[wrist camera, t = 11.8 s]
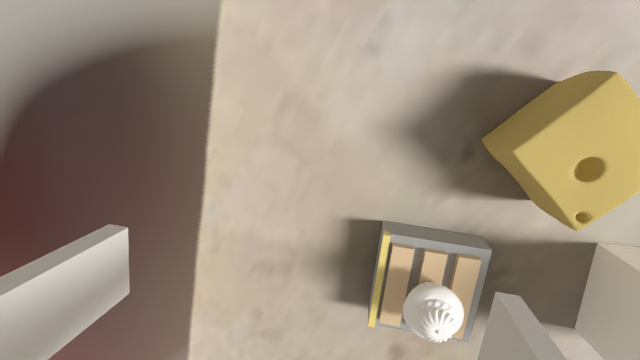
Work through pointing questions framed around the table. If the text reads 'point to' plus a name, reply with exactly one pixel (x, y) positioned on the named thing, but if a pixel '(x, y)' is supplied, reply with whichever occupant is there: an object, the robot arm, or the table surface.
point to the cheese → (574, 147)
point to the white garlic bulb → (433, 312)
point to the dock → (426, 271)
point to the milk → (612, 303)
